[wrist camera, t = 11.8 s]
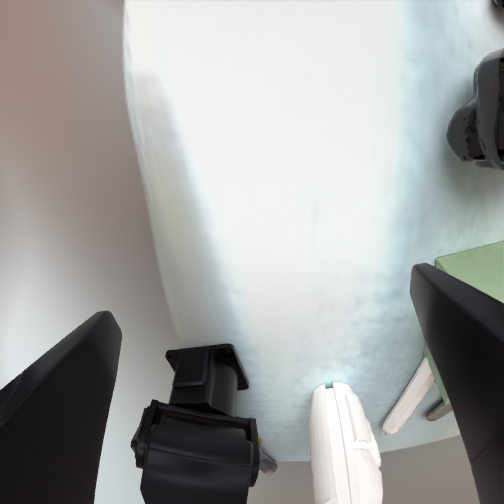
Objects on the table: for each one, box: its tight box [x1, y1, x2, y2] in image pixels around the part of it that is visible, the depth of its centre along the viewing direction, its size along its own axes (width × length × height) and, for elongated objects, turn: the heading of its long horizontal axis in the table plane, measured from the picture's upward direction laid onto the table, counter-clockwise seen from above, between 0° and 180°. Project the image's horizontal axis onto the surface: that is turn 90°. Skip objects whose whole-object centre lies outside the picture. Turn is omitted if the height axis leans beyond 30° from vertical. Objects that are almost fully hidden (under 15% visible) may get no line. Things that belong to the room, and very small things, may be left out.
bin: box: [423, 241, 504, 405], centre depth 22 cm, size 12×12×7 cm
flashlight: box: [309, 382, 383, 504], centre depth 24 cm, size 7×18×7 cm
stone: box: [427, 401, 453, 421], centre depth 32 cm, size 12×2×5 cm
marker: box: [382, 358, 435, 436], centre depth 31 cm, size 3×2×16 cm
